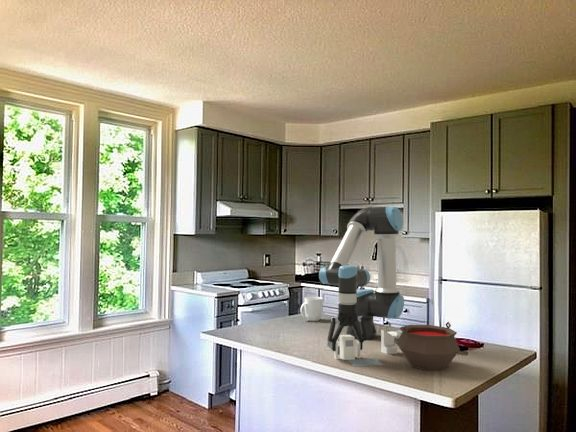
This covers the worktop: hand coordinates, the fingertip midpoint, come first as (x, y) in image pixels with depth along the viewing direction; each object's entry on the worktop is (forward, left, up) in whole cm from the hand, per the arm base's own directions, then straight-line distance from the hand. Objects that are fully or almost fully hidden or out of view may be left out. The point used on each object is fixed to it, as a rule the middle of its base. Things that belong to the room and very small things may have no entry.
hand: (347, 358), depth 186 cm
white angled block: (-21, -6, 0) cm, 22 cm away
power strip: (0, -17, 0) cm, 17 cm away
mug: (-5, -81, 0) cm, 81 cm away
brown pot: (-29, +13, 0) cm, 32 cm away
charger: (0, 0, 0) cm, 0 cm away
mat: (-5, +7, 0) cm, 9 cm away
